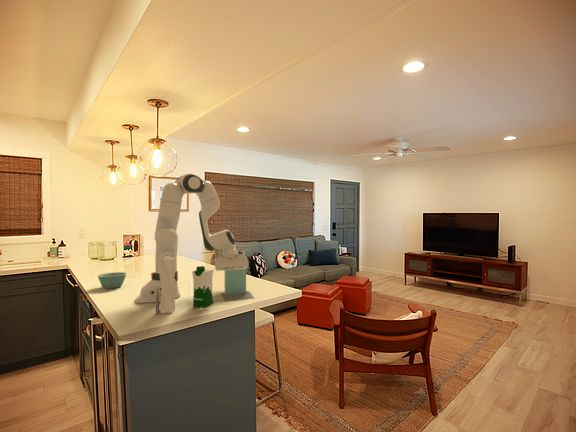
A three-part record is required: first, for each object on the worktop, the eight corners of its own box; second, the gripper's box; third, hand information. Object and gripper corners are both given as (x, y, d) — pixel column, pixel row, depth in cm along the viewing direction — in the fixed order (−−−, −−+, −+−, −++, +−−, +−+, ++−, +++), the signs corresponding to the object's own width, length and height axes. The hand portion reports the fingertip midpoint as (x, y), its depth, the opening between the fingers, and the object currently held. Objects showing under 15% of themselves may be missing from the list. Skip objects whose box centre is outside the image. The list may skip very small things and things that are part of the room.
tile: (225, 294, 169) (225, 270, 169) (224, 293, 171) (224, 269, 171) (246, 292, 173) (246, 268, 173) (245, 291, 175) (245, 267, 175)
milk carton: (190, 307, 149) (190, 267, 148) (201, 302, 157) (201, 264, 157) (205, 309, 146) (205, 268, 146) (215, 303, 154) (215, 265, 154)
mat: (225, 302, 156) (225, 301, 156) (220, 294, 171) (220, 293, 171) (254, 299, 162) (254, 298, 162) (248, 292, 177) (248, 291, 177)
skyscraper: (161, 309, 147) (160, 252, 146) (178, 309, 147) (177, 252, 147) (154, 315, 138) (154, 254, 138) (172, 314, 139) (172, 254, 139)
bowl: (105, 284, 197) (105, 272, 197) (130, 284, 199) (130, 271, 198) (92, 290, 181) (92, 277, 181) (120, 290, 183) (119, 276, 183)
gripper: (213, 254, 182) (216, 273, 173) (246, 251, 189) (250, 270, 180) (213, 260, 187) (215, 279, 178) (245, 257, 194) (249, 276, 185)
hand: (233, 274), depth 179 cm, fingers closed
